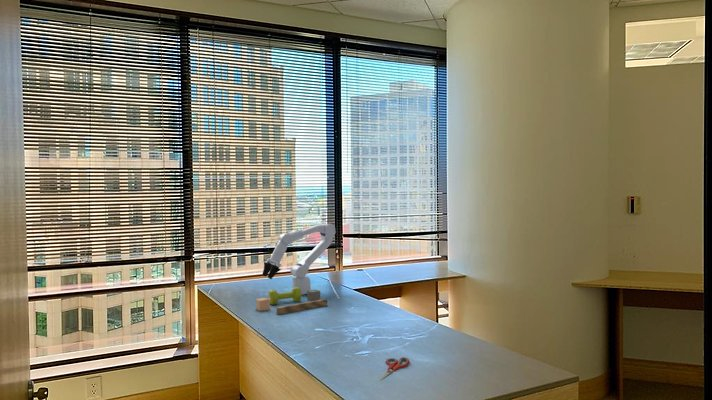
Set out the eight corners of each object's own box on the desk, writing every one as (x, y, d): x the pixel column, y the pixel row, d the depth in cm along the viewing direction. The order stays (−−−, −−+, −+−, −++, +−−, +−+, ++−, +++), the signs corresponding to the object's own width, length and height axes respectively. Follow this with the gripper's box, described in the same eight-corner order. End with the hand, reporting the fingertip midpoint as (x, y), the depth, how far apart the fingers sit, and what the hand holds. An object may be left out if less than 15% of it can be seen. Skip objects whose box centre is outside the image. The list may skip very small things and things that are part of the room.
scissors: (372, 385, 144) (372, 380, 144) (387, 360, 164) (387, 356, 164) (398, 387, 142) (398, 382, 142) (410, 361, 162) (410, 357, 162)
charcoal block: (316, 298, 259) (315, 289, 258) (320, 300, 254) (320, 290, 254) (307, 300, 256) (307, 290, 256) (312, 302, 252) (311, 292, 251)
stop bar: (325, 304, 244) (325, 298, 244) (327, 305, 242) (327, 299, 242) (276, 313, 230) (276, 307, 230) (278, 314, 228) (278, 308, 228)
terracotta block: (265, 307, 243) (265, 297, 243) (269, 309, 239) (269, 299, 239) (256, 309, 241) (255, 299, 241) (260, 311, 236) (259, 300, 236)
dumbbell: (298, 299, 260) (298, 285, 260) (302, 302, 252) (302, 288, 252) (267, 303, 253) (267, 289, 253) (271, 306, 246) (270, 291, 246)
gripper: (266, 249, 271) (255, 271, 268) (277, 252, 259) (265, 276, 256) (277, 254, 275) (266, 276, 272) (288, 258, 262) (276, 281, 259)
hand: (266, 277), depth 264 cm, fingers open, 7 cm apart
